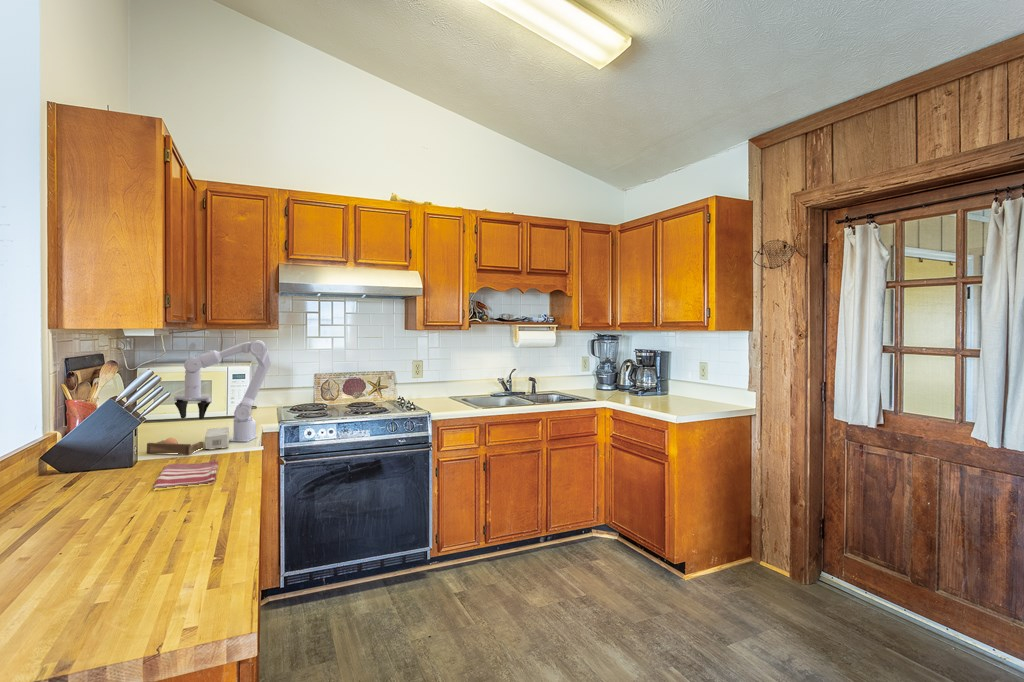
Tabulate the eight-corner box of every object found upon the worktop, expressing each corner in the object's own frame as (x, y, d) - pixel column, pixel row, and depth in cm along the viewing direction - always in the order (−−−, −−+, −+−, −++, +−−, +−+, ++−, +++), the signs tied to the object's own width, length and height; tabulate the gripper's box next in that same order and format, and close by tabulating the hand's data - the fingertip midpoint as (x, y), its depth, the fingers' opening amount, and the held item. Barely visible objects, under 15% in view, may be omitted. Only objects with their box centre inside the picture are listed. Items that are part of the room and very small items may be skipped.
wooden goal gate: (163, 447, 203) (163, 437, 203) (204, 449, 203) (204, 439, 203) (146, 453, 194) (146, 443, 193) (189, 455, 194) (189, 444, 193)
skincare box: (204, 436, 201) (206, 428, 213) (205, 451, 201) (206, 442, 214) (229, 434, 205) (228, 426, 218) (229, 448, 205) (228, 439, 218)
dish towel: (218, 466, 183) (219, 459, 183) (214, 486, 162) (214, 478, 162) (163, 471, 175) (163, 464, 175) (151, 493, 154) (151, 484, 154)
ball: (177, 451, 202) (166, 444, 201) (183, 440, 201) (172, 434, 201) (168, 454, 197) (157, 448, 196) (174, 443, 196) (163, 437, 196)
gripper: (169, 386, 207) (168, 419, 207) (204, 388, 207) (203, 420, 207) (180, 384, 214) (180, 416, 214) (214, 385, 214) (214, 417, 214)
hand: (192, 418), depth 211 cm, fingers open, 7 cm apart
